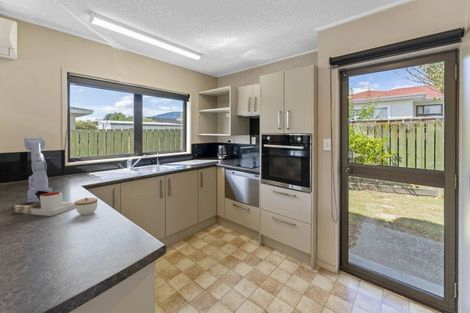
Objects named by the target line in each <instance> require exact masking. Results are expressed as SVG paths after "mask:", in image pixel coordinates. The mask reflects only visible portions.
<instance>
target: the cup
mask: <svg viewBox="0 0 470 313" xmlns="http://www.w3.org/2000/svg"><path fill="white" fill-rule="evenodd" d="M62 202H63V194H62V192H60V191H53V192H49V193H45V194H42V195H40V203H41V205H40V209H45V210H53V209H57V208H60V207H63V203H62Z"/></svg>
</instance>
